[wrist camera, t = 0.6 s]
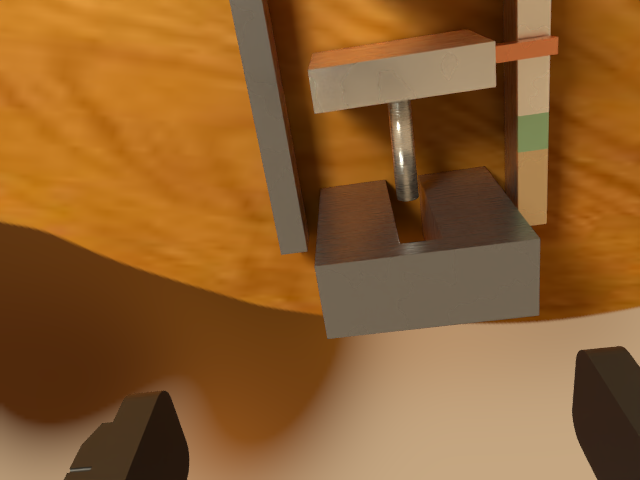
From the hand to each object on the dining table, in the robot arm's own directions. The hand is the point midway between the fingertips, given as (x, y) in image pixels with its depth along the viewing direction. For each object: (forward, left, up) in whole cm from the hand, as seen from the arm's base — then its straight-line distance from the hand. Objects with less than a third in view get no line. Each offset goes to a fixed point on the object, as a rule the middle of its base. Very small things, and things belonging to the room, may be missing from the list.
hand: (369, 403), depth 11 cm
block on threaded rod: (0, +5, -24) cm, 24 cm away
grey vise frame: (-1, +3, -24) cm, 24 cm away
